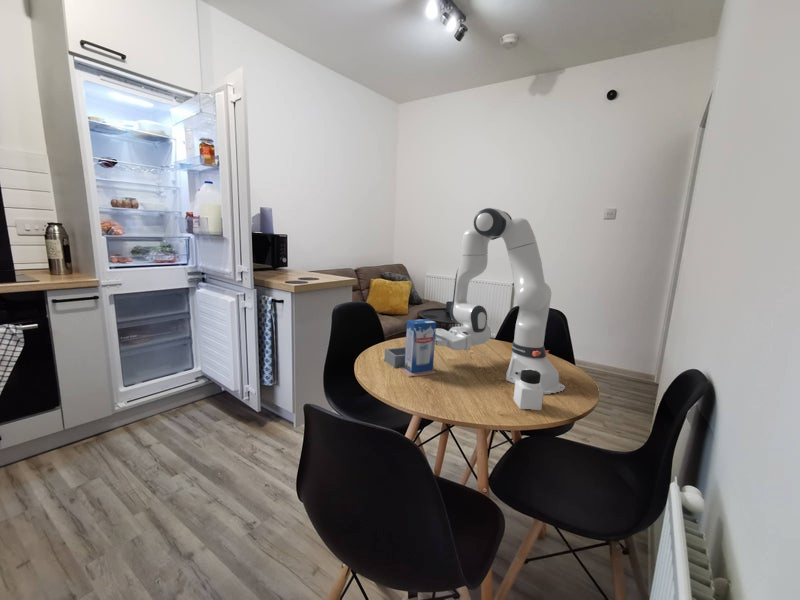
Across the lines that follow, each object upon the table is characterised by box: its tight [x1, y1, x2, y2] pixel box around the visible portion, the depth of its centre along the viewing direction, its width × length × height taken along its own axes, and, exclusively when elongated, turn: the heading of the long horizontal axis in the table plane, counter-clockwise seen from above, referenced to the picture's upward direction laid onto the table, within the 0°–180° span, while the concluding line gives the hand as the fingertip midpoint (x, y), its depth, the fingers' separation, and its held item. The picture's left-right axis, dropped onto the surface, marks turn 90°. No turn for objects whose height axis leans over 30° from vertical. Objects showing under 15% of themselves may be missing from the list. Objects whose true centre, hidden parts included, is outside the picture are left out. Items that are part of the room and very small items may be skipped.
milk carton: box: [404, 318, 437, 373], centre depth 139 cm, size 10×6×20 cm, turn 117°
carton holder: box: [383, 346, 406, 369], centre depth 149 cm, size 10×14×5 cm
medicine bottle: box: [512, 369, 545, 411], centre depth 114 cm, size 7×7×12 cm
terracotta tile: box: [397, 367, 436, 378], centre depth 140 cm, size 9×12×1 cm
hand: (429, 339), depth 140 cm, fingers open, 8 cm apart
